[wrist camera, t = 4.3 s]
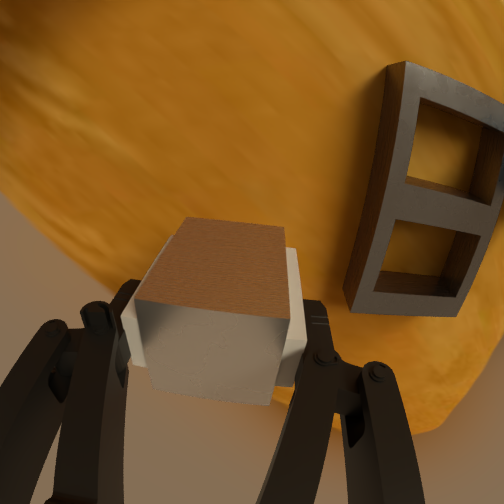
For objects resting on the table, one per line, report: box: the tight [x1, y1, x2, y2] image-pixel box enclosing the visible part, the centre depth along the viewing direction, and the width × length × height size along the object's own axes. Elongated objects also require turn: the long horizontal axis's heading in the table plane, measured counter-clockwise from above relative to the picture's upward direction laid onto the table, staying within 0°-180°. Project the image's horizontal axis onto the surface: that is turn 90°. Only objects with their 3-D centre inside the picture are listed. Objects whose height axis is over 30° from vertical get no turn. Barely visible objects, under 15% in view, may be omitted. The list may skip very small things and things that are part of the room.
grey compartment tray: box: [343, 61, 504, 317], centre depth 23 cm, size 22×13×4 cm, turn 174°
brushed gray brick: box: [134, 217, 291, 406], centre depth 13 cm, size 5×5×7 cm
